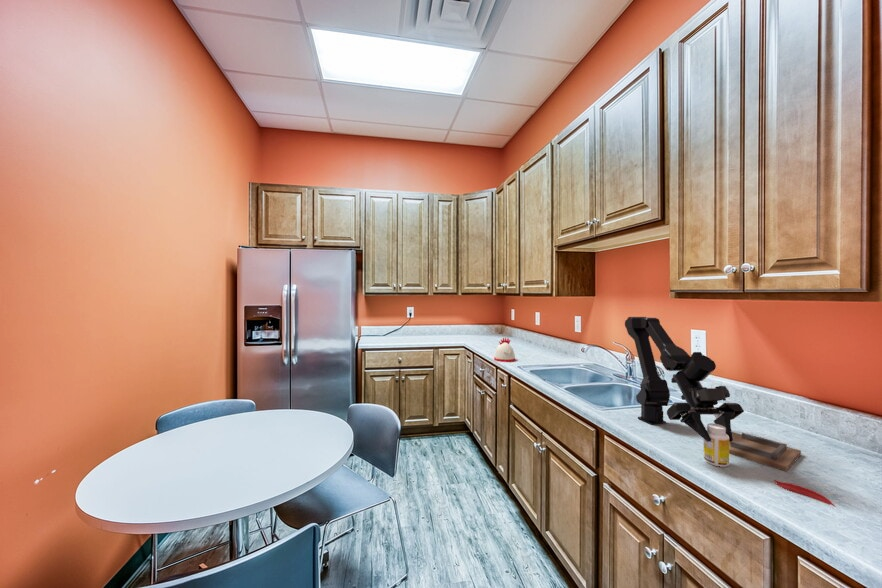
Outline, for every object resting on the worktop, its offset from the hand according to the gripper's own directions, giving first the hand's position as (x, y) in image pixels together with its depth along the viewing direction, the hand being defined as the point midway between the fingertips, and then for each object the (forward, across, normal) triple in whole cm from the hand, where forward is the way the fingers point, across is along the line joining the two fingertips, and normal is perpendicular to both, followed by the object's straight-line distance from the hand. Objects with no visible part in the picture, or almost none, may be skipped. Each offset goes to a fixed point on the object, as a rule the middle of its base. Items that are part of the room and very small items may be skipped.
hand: (720, 441), depth 95 cm
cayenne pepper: (+14, +9, -4) cm, 17 cm away
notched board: (-1, +17, +10) cm, 20 cm away
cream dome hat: (-94, -34, +104) cm, 144 cm away
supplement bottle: (+4, 0, +6) cm, 7 cm away
